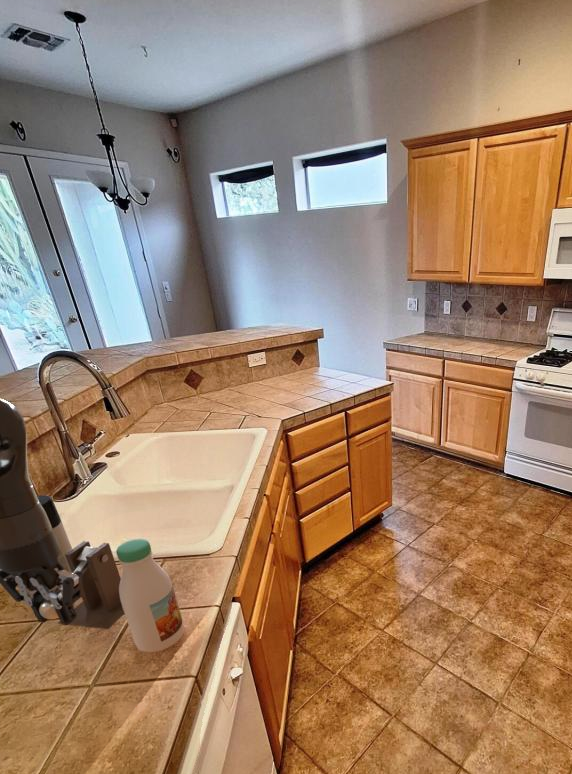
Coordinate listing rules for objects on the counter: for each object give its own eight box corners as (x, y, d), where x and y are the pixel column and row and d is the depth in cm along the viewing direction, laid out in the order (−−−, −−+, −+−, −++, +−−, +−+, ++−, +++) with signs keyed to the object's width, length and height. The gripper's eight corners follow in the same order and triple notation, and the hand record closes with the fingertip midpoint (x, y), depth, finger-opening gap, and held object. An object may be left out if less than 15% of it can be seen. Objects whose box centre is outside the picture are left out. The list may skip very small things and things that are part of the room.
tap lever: (62, 623, 71) (48, 613, 68) (42, 621, 71) (28, 611, 68) (109, 556, 80) (98, 545, 77) (91, 555, 80) (80, 544, 77)
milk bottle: (146, 664, 71) (113, 566, 62) (130, 640, 76) (96, 546, 67) (193, 638, 76) (168, 545, 67) (175, 617, 81) (149, 527, 72)
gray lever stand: (110, 633, 77) (86, 571, 71) (59, 627, 78) (32, 566, 72) (152, 590, 88) (135, 533, 82) (107, 585, 89) (87, 528, 83)
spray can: (93, 579, 90) (61, 495, 82) (65, 600, 84) (28, 513, 76) (65, 575, 91) (31, 492, 82) (36, 596, 85) (-4, 509, 76)
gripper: (82, 524, 67) (113, 609, 75) (1, 517, 68) (39, 601, 76) (40, 552, 60) (79, 641, 68) (-48, 543, 62) (-1, 632, 69)
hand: (58, 619), depth 72 cm, fingers closed on tap lever, 3 cm apart
